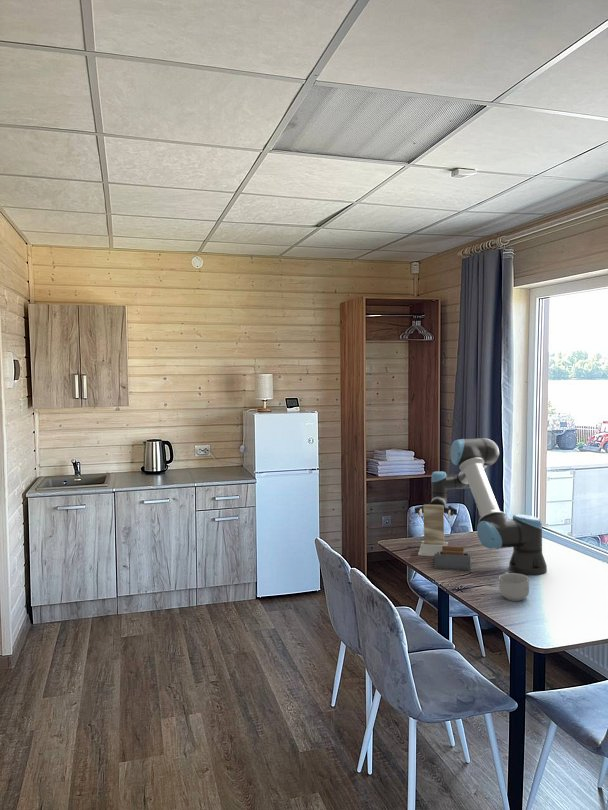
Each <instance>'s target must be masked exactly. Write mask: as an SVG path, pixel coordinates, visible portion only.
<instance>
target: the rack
mask: <svg viewBox="0 0 608 810" xmlns="http://www.w3.org/2000/svg"><path fill="white" fill-rule="evenodd" d="M433 557H434V563H433V568H434V569H435V570H436V569H437V570H450V571H452V570H453V571H463V572H471V571H472V570H471V568H472V553H468V552H464V555H449V554H442V551H440V554H439V552H437V554H434V556H433Z"/></svg>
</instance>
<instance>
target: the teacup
mask: <svg viewBox="0 0 608 810" xmlns="http://www.w3.org/2000/svg"><path fill="white" fill-rule="evenodd" d="M529 580H530V577H528V576H527V575H526V574H521V573H517V572H511V573H510V572H508V571H505V572H504V573H503V574H500V575H499V576H498V586H499V592H500V594H501V595H502V596H503V597H504V598H505V599H506V600H509V601H513V602H518V601H519V602H521V601H523V600H525V599H526V598H528V596H529V593H530V581H529Z"/></svg>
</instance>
